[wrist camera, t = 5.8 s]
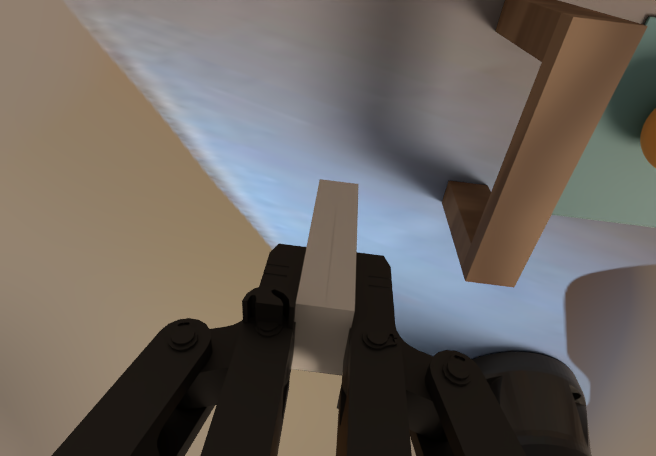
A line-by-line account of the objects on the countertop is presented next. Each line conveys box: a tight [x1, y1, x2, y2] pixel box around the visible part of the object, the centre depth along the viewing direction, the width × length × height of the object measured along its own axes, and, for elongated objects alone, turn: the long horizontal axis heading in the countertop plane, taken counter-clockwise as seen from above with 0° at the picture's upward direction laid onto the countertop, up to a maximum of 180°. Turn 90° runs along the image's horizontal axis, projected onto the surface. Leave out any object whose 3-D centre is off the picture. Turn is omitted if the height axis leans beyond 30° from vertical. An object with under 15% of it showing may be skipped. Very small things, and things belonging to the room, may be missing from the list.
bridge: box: [442, 0, 648, 287], centre depth 24 cm, size 3×14×9 cm, turn 174°
